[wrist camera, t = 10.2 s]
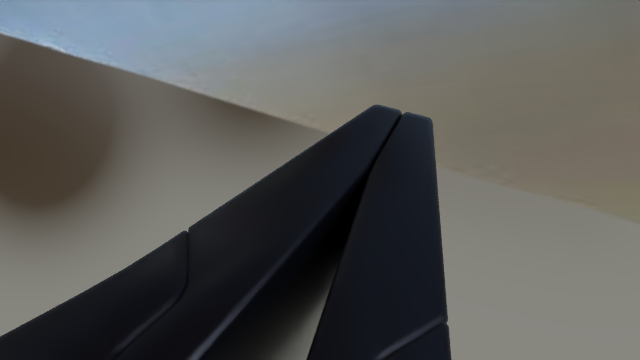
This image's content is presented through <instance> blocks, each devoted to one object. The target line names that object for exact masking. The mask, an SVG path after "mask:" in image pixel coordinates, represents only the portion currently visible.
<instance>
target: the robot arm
mask: <svg viewBox="0 0 640 360" xmlns="http://www.w3.org/2000/svg"><path fill="white" fill-rule="evenodd" d="M438 200H439V199H438V187H437V174H436V161H435V148H434V135H433V123H432V120H431V119H430V118H429V117H425V116H421V115H417V114H414V113H410V112H406V113H404V114H403V115H402V112H401V111H400V110H398V109H394V108H390V107H386V106H382V105H373V106H371V107H370V108H368V109H367V110H365V111H364V112H362V113H361V114H359V115H358V116H356V117H355V118H353V119H352V120H350V121H349V122H347V123H346V124H344V125H343V126H341V127H340V128H338V129H337V130H335V131H334V132H332V133H331V134H329V135H328V136H326V137H325V138H323V139H321V140H320V141H318V142H317V143H316V144H314V145H313V146H311V147H309V148H308V149H306V150H305V151H303V152H302V153H301V154H299V155H297V156H296V157H294V158H293V159H291V160H290V161H288V162H287V163H285V164H284V165H282V166H281V167H279V168H278V169H276V170H275V171H273V172H272V173H270V174H269V175H267V176H266V177H264V178H263V179H261V180H260V181H258V182H257V183H255V184H254V185H252V186H251V187H249V188H248V189H246V190H245V191H243V192H242V193H240V194H239V195H237V196H236V197H234V198H233V199H231V200H230V201H228V202H227V203H225V204H224V205H222V206H221V207H219V208H218V209H216V210H215V211H213V212H212V213H210V214H209V215H207V216H206V217H204V218H203V219H201V220H200V221H198V222H197V223H195V224H194V225H192V226H191V227H189V230H188V232H187V231H183V232H181V233H180V234H178V235H177V236H175V237H174V238H172V239H171V240H169V241H168V242H166V243H165V244H163V245H162V246H160V247H158V248H157V249H155V250H154V251H152V252H150V253H149V254H147V255H146V256H144V257H143V258H141V259H139V260H138V261H136V262H135V263H133V264H132V265H130V266H128V267H127V268H125V269H123V270H121V271H120V272H118V273H116V274H114V275H113V276H111V277H109V278H107V279H106V280H104V281H102V282H100V283H99V284H97V285H95V286H93V287H91V288H90V289H88V290H86V291H84V292H83V293H81V294H79V295H77V296H75V297H74V298H71V299H70V300H68V301H66V302H64V303H62V304H60V305H58V306H56V307H55V308H53V309H51V310H49V311H47V312H45V313H44V314H42V315H40V316H38V317H36V318H34V319H32V320H31V321H29V322H27V323H25V324H23V325H21V326H19V327H17V328H16V329H14V330H12V331H10V332H8V333H6V334H4V335H2V336H1V337H0V360H451V351H450V338H449V327H448V325H447V321H448V316H447V304H446V290H445V277H444V264H443V252H442V238H441V226H440V214H439V213H440V212H439V201H438Z"/></svg>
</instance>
